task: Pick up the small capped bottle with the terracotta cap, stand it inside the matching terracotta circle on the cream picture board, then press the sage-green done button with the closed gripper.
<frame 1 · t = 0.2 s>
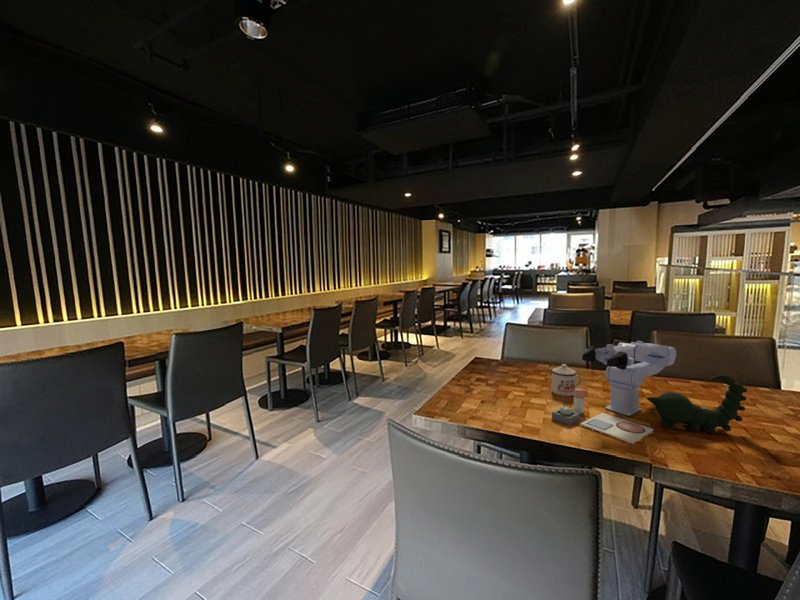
hand: (595, 359, 109), 21 cm above the table, tool horizontal, fingers open, 7 cm apart
button housing: (565, 420, 114), on the table
small capped bottle: (578, 411, 120), on the table
teacup with lid: (566, 393, 139), on the table
done button: (565, 411, 114), point 3 cm above the table, slide at 0.0 cm
toy figurine: (691, 429, 107), on the table
picture board: (616, 428, 107), on the table
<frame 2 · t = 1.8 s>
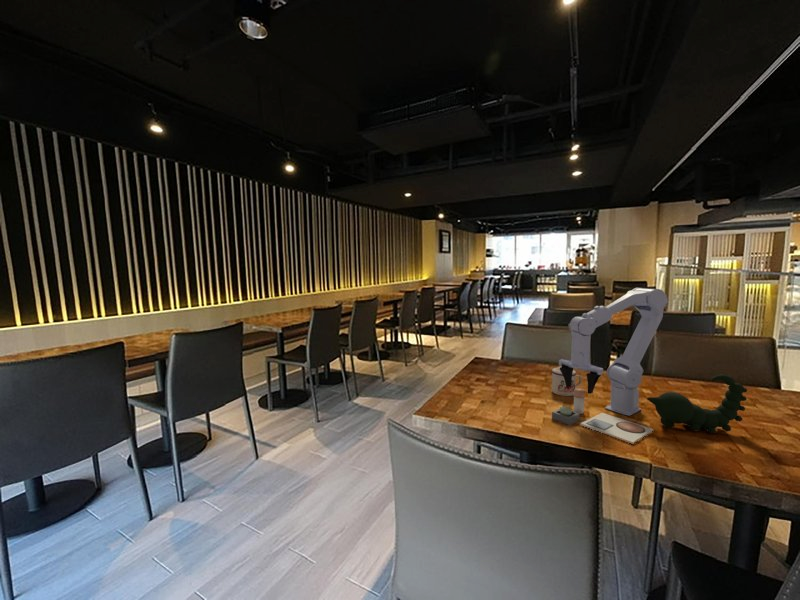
hand: (579, 389, 120), 8 cm above the table, tool pointing down, fingers open, 7 cm apart
nothing on the table moved.
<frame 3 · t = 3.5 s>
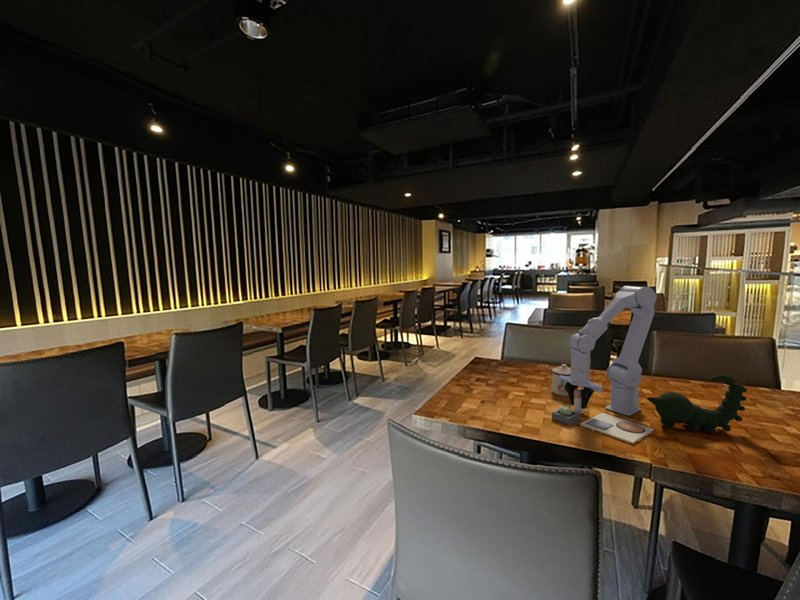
hand: (578, 406, 120), 2 cm above the table, tool pointing down, fingers closed on small capped bottle, 3 cm apart
small capped bottle: (578, 411, 120), on the table, touching gripper
everything else where it was.
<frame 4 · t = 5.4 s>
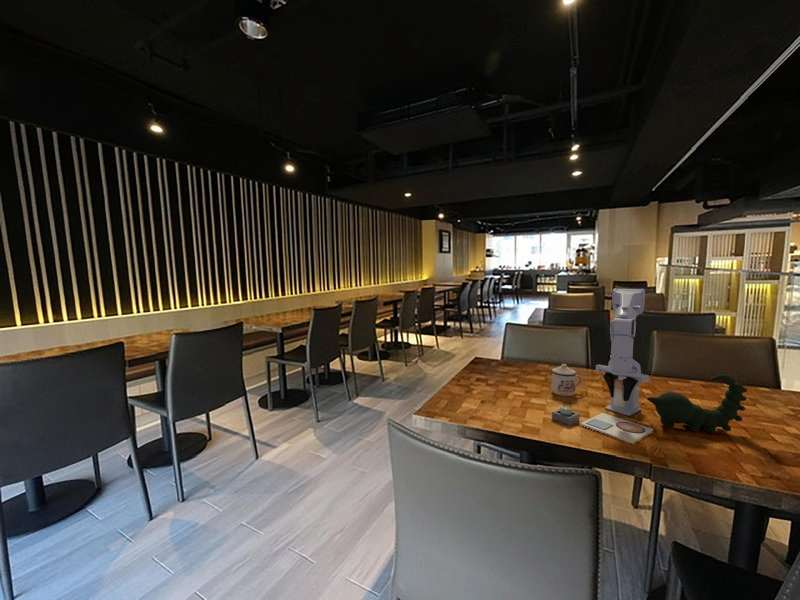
hand: (619, 398, 108), 9 cm above the table, tool pointing down, fingers closed on small capped bottle, 3 cm apart
small capped bottle: (619, 404, 108), point 7 cm above the table, touching gripper
everything else where it was.
when the fingers open (4 cm above the table, at t = 7.6 s): small capped bottle drops 1 cm, resting on picture board.
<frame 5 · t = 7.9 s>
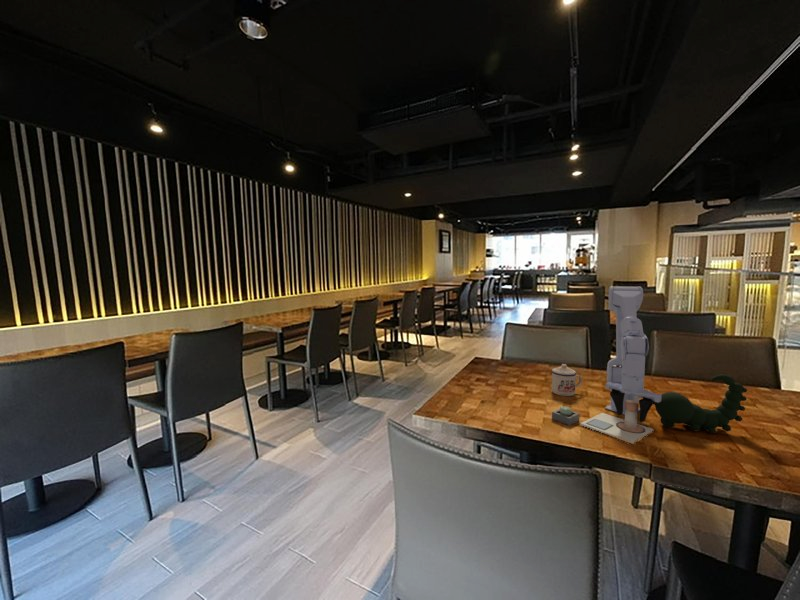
hand: (630, 417, 106), 4 cm above the table, tool pointing down, fingers open, 6 cm apart
small capped bottle: (630, 427, 106), point 1 cm above the table, touching picture board
everything else where it was.
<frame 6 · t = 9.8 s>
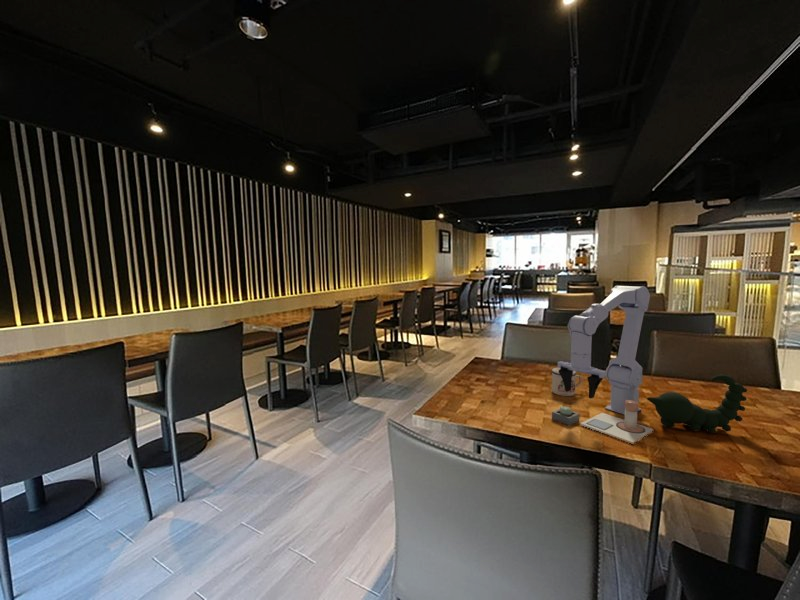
hand: (579, 394, 111), 10 cm above the table, tool pointing down, fingers open, 7 cm apart
nothing on the table moved.
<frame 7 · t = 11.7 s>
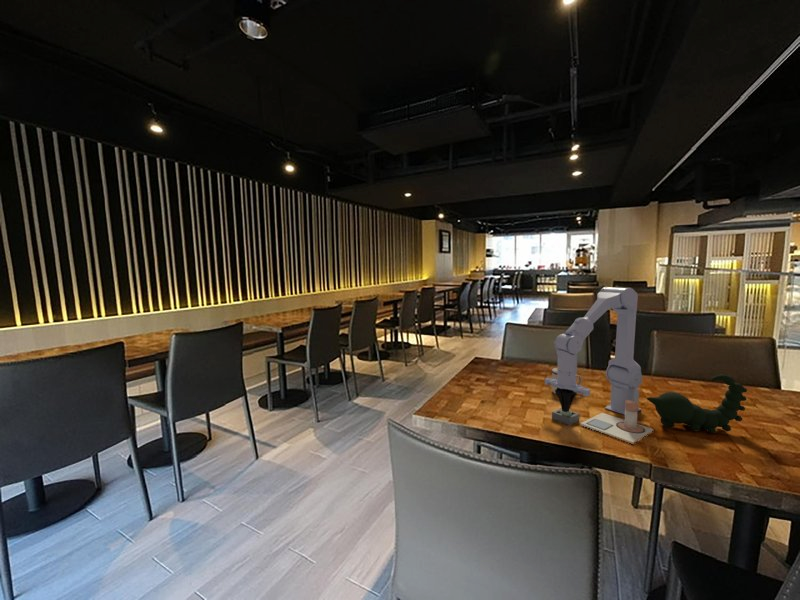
hand: (565, 410, 114), 3 cm above the table, tool pointing down, fingers closed, pressing on done button
done button: (565, 413, 114), point 2 cm above the table, slide at 0.8 cm, touching gripper
everything else where it was.
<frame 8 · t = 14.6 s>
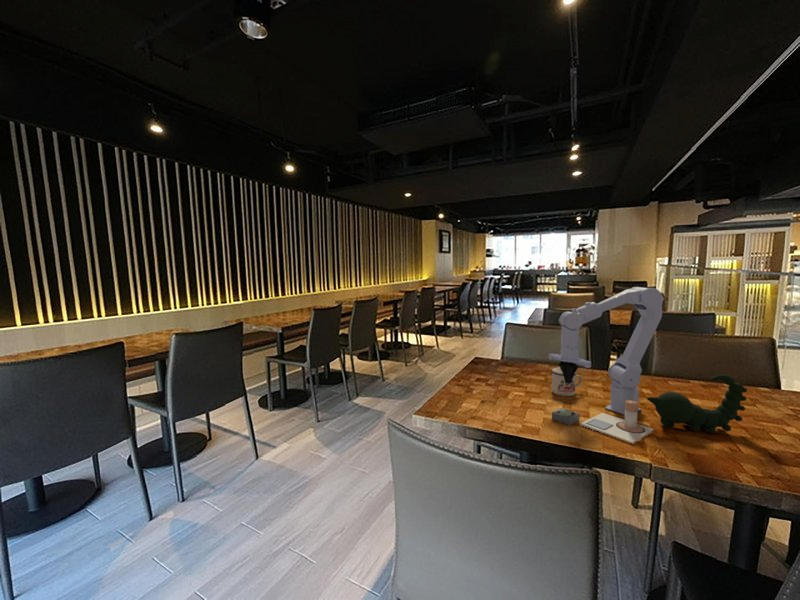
hand: (568, 382, 123), 9 cm above the table, tool pointing down, fingers closed
done button: (565, 414, 114), point 2 cm above the table, slide at 1.0 cm
everything else where it was.
at the end: small capped bottle 0.1 cm from the target spot on the picture board, point 0.9 cm above the picture board's base; small capped bottle tilted 0°; done button slide at 1.0 cm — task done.
